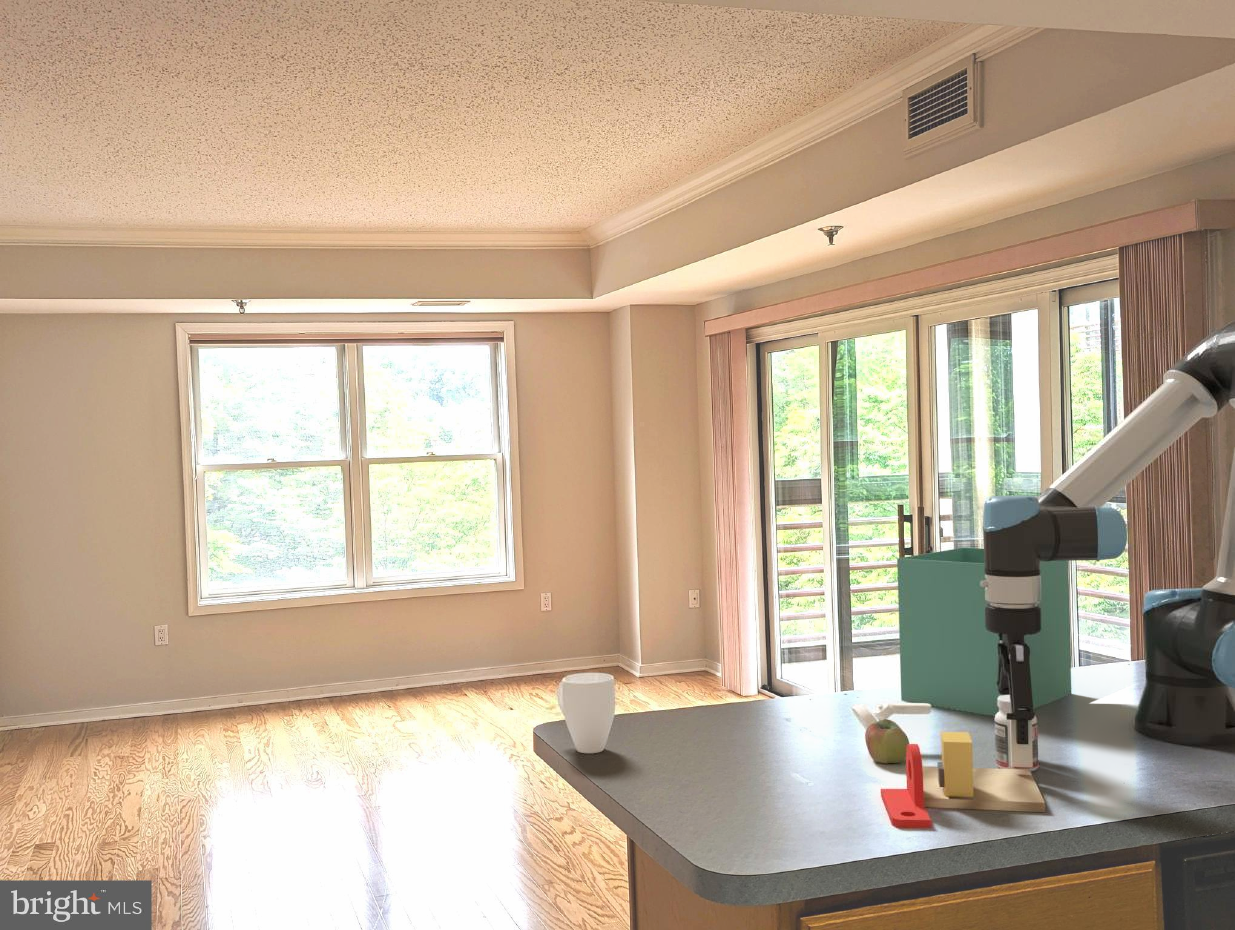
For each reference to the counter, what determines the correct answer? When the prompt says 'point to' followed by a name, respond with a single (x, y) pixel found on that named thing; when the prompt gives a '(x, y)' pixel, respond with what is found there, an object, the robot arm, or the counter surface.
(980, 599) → the box
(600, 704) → the mug
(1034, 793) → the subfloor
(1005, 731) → the pill bottle
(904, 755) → the apple
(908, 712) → the hook
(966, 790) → the block
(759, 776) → the counter surface
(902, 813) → the bracket
